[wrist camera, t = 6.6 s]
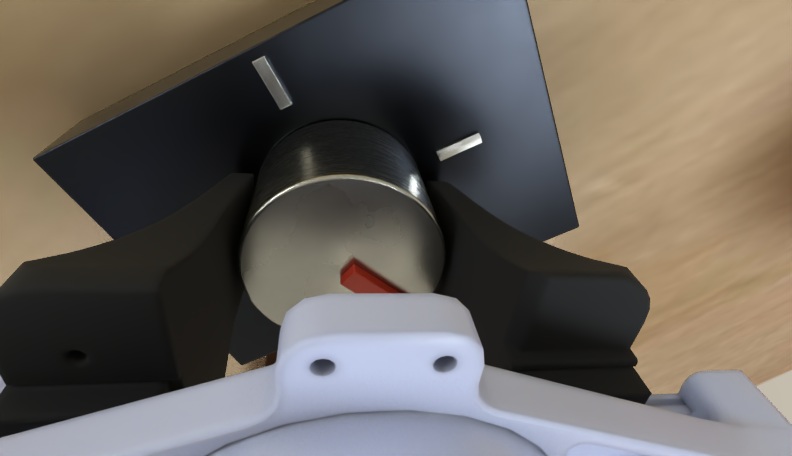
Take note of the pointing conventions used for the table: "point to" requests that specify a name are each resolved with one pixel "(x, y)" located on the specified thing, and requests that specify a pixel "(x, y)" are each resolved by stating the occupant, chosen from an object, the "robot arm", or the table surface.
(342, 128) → the dial
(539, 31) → the table surface
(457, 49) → the dial panel
